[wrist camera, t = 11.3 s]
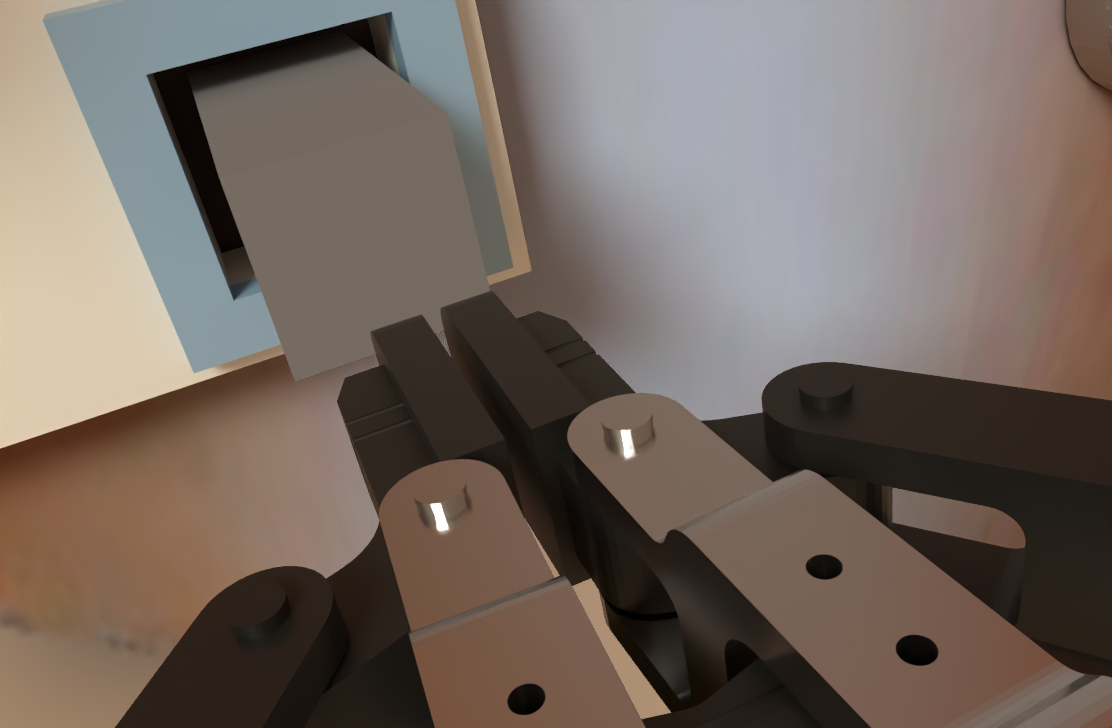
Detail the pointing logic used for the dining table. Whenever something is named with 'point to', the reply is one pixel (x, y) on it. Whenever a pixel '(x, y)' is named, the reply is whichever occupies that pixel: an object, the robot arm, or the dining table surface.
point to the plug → (339, 195)
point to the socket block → (174, 191)
